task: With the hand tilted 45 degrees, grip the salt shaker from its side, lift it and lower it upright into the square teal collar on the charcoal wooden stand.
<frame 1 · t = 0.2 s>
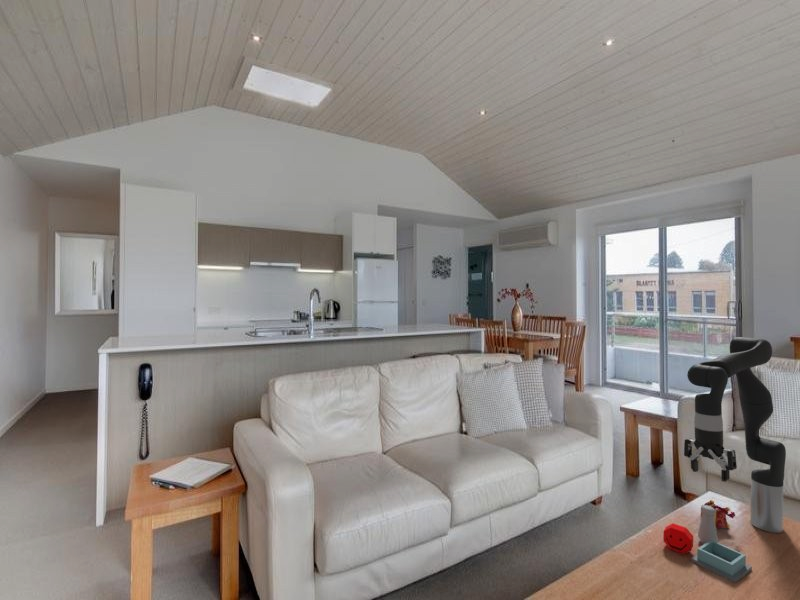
hand: (709, 475, 136), 29 cm above the table, tool pointing down, fingers open, 8 cm apart
salt shaker: (707, 544, 147), on the table
book monster: (719, 530, 156), on the table
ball: (678, 549, 144), on the table
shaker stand: (721, 565, 135), on the table
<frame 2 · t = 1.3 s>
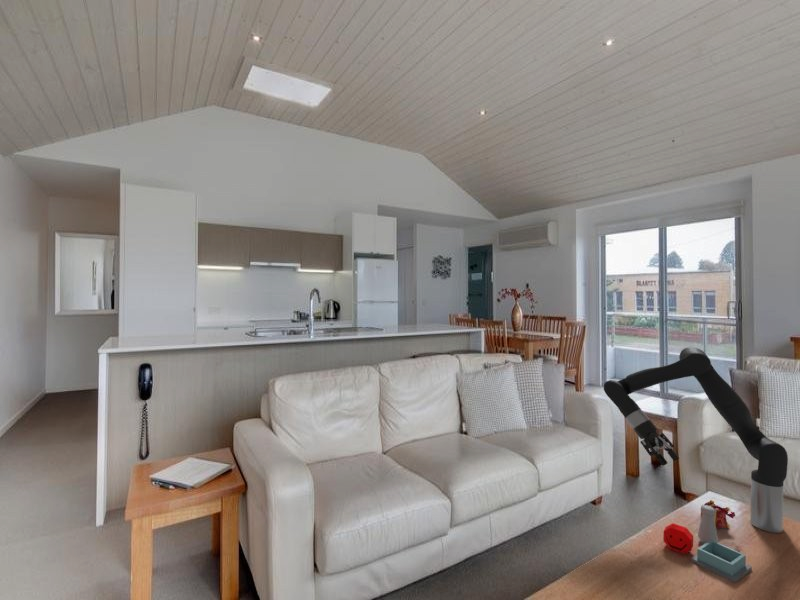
hand: (671, 462, 157), 25 cm above the table, tool tilted 45°, fingers open, 8 cm apart
nothing on the table moved.
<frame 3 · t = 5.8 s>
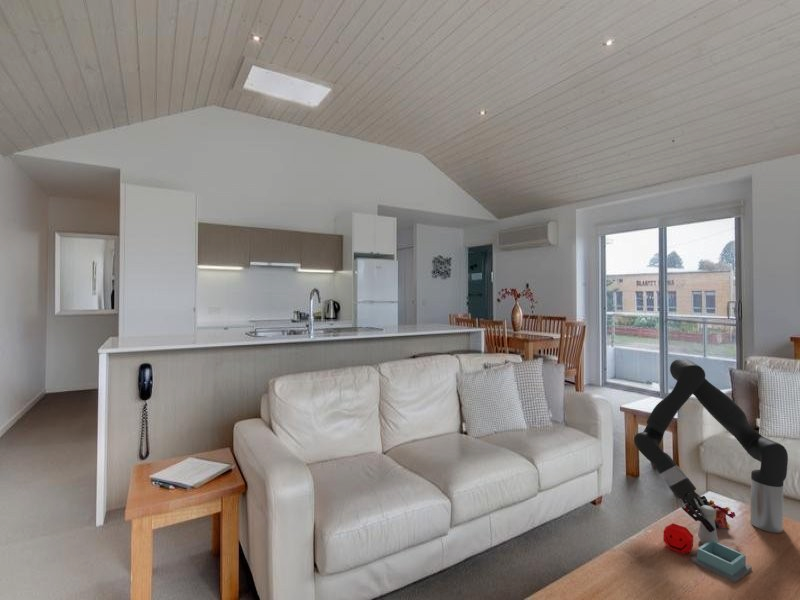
hand: (714, 529, 145), 6 cm above the table, tool tilted 45°, fingers closed on salt shaker, 3 cm apart
salt shaker: (707, 543, 147), on the table, touching gripper
everything else where it was.
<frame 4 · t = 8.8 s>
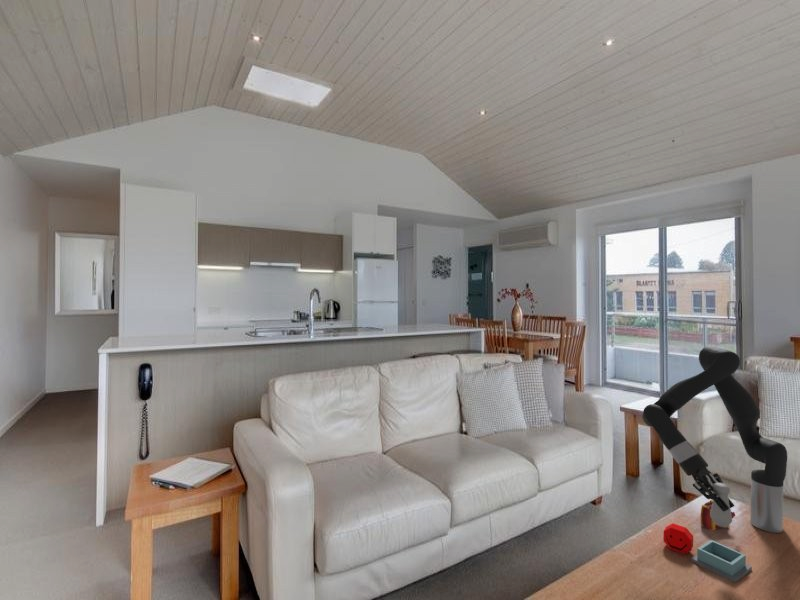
hand: (728, 508, 133), 20 cm above the table, tool tilted 45°, fingers closed on salt shaker, 3 cm apart
salt shaker: (720, 524, 135), point 13 cm above the table, touching gripper
everything else where it was.
when the fingers open (8 cm above the table, at t = 11.6 s): salt shaker drops 1 cm, resting on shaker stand.
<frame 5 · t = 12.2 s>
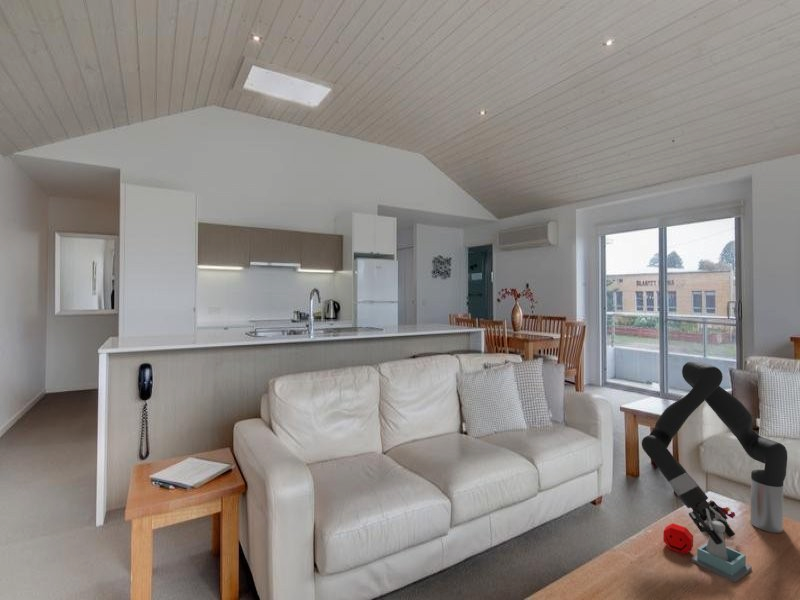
hand: (726, 539, 134), 9 cm above the table, tool tilted 45°, fingers open, 8 cm apart
salt shaker: (716, 562, 135), point 1 cm above the table, touching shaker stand
everything else where it was.
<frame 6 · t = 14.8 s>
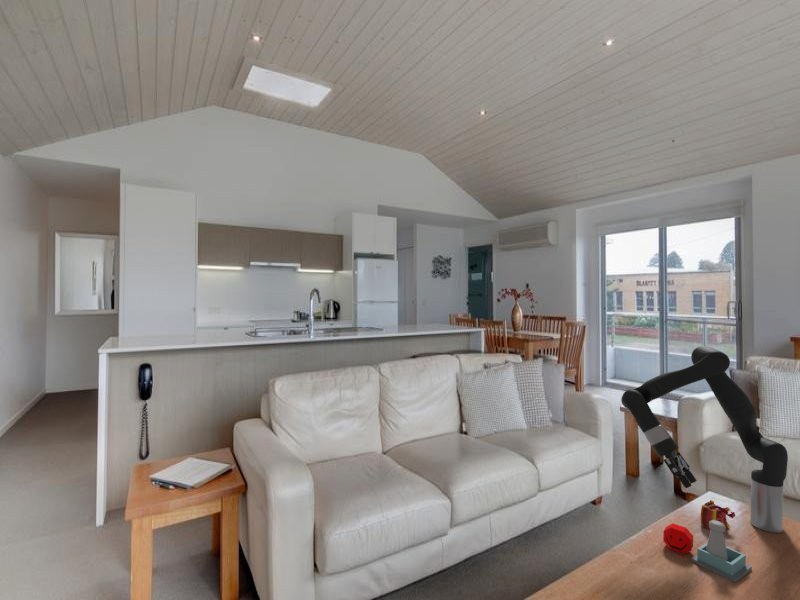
hand: (691, 484, 145), 22 cm above the table, tool tilted 40°, fingers open, 8 cm apart
nothing on the table moved.
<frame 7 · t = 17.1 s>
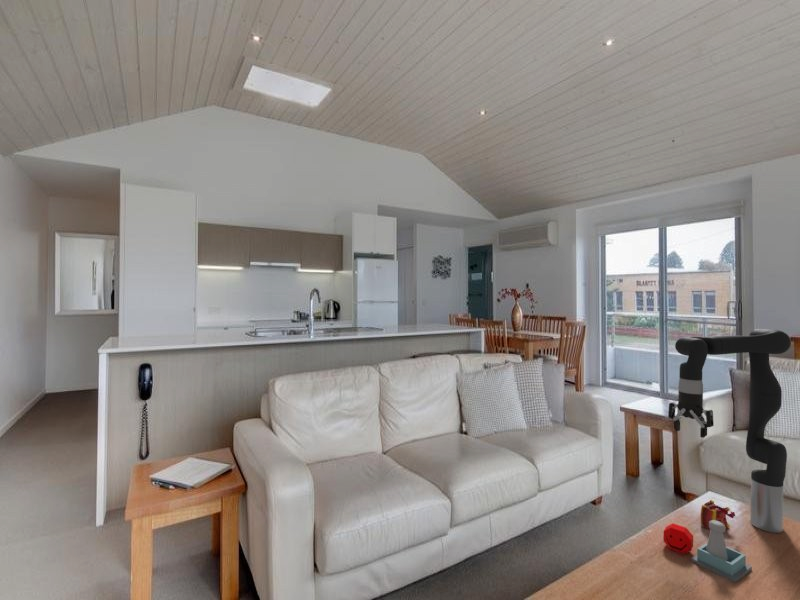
hand: (689, 433, 156), 36 cm above the table, tool pointing down, fingers open, 8 cm apart
nothing on the table moved.
at the end: salt shaker 1.4 cm off-centre on the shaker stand, point 0.8 cm above the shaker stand's base; salt shaker tilted 0°; the gripper is holding nothing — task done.
